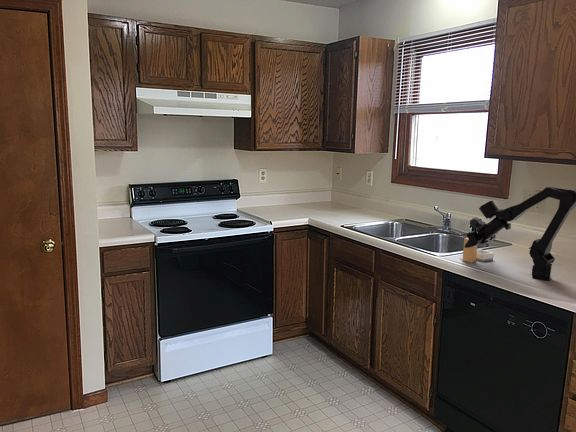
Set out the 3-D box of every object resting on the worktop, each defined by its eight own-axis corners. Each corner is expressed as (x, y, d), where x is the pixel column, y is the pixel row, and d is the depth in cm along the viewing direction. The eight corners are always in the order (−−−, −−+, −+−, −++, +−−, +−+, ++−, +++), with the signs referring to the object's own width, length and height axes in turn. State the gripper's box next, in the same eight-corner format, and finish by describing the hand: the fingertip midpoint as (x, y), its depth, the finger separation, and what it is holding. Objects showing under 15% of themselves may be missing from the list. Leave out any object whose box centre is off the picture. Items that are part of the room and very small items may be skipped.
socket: (492, 260, 226) (493, 252, 225) (482, 261, 222) (483, 254, 222) (480, 256, 232) (481, 249, 231) (469, 257, 229) (470, 250, 228)
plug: (475, 261, 223) (478, 234, 221) (471, 262, 220) (474, 236, 218) (466, 258, 227) (469, 233, 224) (462, 260, 224) (464, 234, 221)
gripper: (491, 210, 223) (467, 230, 233) (472, 214, 210) (447, 234, 220) (506, 230, 218) (481, 249, 228) (488, 235, 206) (461, 254, 216)
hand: (467, 246), depth 223 cm, fingers closed on plug, 4 cm apart
